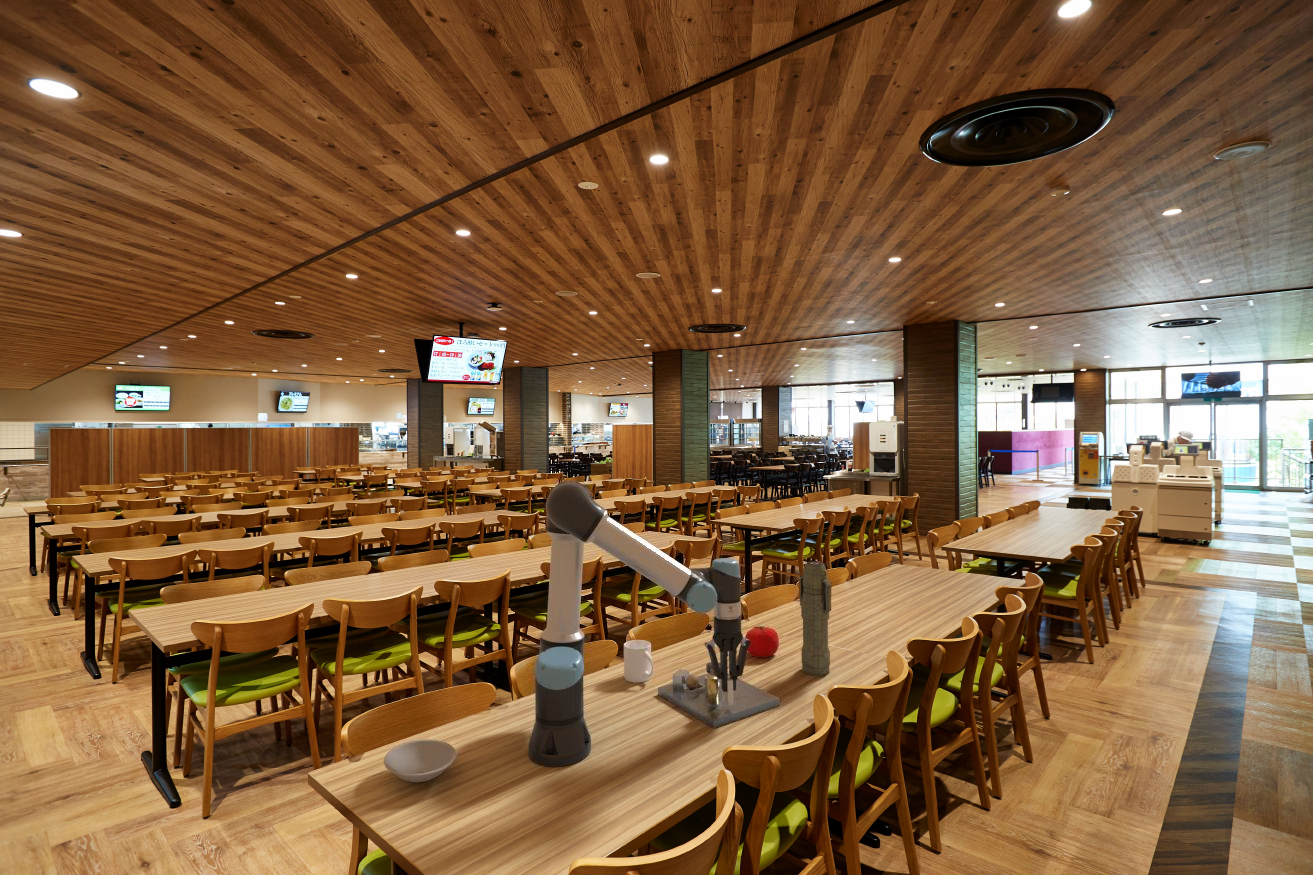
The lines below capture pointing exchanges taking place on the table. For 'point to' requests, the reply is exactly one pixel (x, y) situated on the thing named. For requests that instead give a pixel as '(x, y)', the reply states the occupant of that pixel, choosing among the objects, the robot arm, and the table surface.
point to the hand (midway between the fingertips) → (729, 702)
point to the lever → (711, 685)
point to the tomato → (762, 641)
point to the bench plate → (696, 700)
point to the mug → (637, 661)
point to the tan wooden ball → (692, 681)
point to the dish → (420, 759)
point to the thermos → (815, 618)
